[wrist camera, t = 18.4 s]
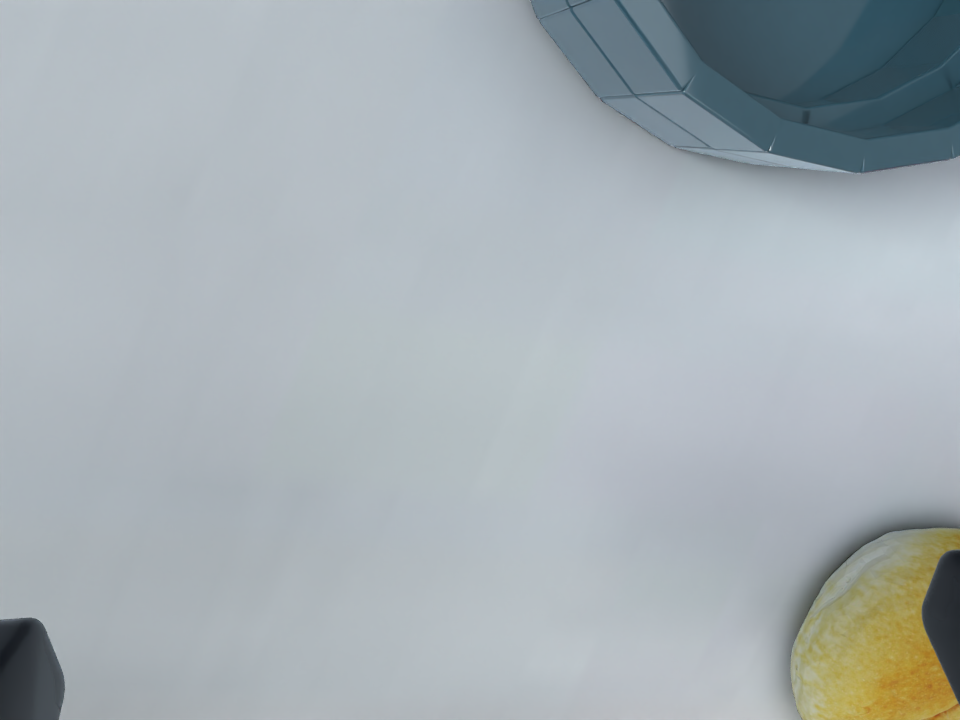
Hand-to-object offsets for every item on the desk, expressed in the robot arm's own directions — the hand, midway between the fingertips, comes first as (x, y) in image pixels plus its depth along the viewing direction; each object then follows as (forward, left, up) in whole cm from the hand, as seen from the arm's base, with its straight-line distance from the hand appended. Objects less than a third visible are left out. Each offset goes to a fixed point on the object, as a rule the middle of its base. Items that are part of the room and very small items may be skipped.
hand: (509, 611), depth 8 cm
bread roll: (+16, -14, -12) cm, 24 cm away
